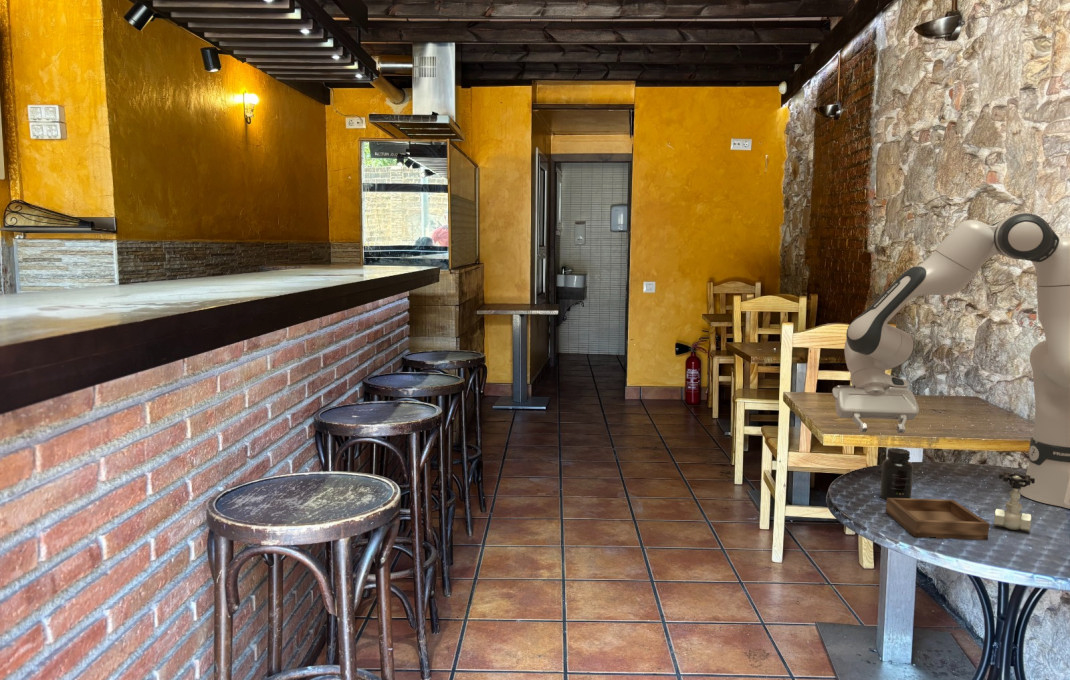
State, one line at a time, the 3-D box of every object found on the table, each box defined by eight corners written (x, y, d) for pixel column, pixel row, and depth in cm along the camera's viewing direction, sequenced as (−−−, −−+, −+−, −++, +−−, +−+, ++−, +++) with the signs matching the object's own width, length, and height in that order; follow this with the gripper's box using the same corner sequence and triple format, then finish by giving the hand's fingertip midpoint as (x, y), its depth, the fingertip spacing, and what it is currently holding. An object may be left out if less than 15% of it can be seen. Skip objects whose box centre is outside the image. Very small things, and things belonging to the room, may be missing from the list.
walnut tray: (952, 514, 175) (953, 499, 174) (987, 539, 160) (989, 523, 160) (885, 512, 176) (886, 497, 175) (914, 537, 161) (916, 521, 160)
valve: (1029, 537, 162) (1035, 482, 161) (993, 530, 166) (998, 477, 164) (1029, 527, 168) (1034, 475, 166) (994, 521, 171) (999, 469, 170)
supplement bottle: (876, 492, 190) (879, 445, 188) (905, 494, 189) (908, 447, 187) (884, 502, 183) (888, 453, 181) (914, 503, 182) (918, 455, 180)
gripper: (834, 378, 200) (844, 423, 192) (913, 380, 199) (927, 426, 191) (827, 392, 205) (837, 436, 197) (904, 394, 204) (918, 438, 196)
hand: (882, 431), depth 194 cm, fingers open, 8 cm apart
